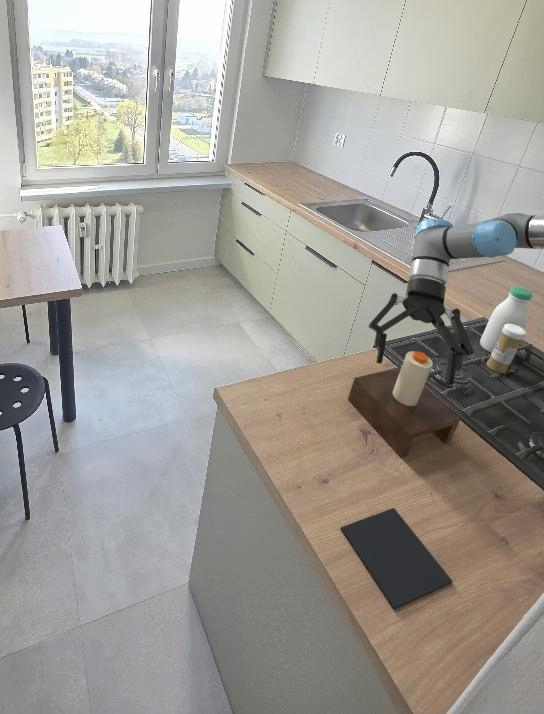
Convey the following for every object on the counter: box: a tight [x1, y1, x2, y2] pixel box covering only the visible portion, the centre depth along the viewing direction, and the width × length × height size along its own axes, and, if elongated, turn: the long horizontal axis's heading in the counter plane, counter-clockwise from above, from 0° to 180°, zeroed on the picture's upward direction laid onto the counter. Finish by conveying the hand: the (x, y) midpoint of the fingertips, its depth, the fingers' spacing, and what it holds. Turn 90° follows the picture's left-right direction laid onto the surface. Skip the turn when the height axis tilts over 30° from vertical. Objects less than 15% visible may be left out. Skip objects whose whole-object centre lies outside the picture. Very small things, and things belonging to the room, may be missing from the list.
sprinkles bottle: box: [486, 324, 527, 374], centre depth 111 cm, size 5×5×14 cm
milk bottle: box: [479, 286, 533, 354], centre depth 117 cm, size 8×8×20 cm
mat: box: [340, 507, 453, 610], centre depth 71 cm, size 12×12×1 cm
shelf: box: [347, 366, 461, 458], centre depth 95 cm, size 16×14×7 cm
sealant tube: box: [393, 350, 434, 406], centre depth 91 cm, size 5×5×12 cm
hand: (413, 373), depth 91 cm, fingers open, 13 cm apart
